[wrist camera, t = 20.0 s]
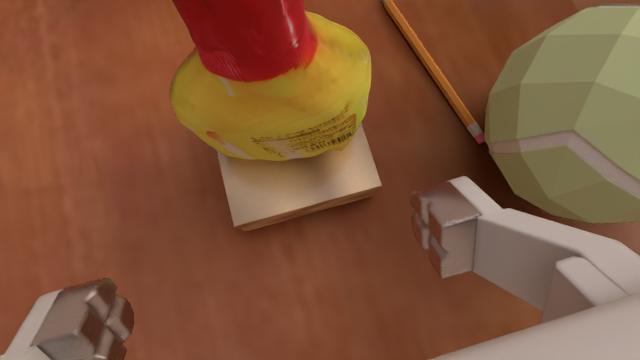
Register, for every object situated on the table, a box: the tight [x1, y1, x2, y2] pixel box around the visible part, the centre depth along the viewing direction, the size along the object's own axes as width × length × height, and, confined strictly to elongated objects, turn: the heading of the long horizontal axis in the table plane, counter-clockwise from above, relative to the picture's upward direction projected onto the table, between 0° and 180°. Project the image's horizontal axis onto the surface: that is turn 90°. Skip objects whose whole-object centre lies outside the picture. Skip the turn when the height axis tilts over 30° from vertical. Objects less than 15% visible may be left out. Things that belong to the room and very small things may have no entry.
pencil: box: [382, 0, 485, 144], centre depth 35 cm, size 1×1×19 cm
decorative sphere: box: [484, 4, 640, 223], centre depth 26 cm, size 15×15×15 cm
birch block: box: [216, 123, 382, 231], centre depth 31 cm, size 12×12×5 cm
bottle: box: [170, 0, 371, 161], centre depth 19 cm, size 12×6×20 cm, turn 99°
